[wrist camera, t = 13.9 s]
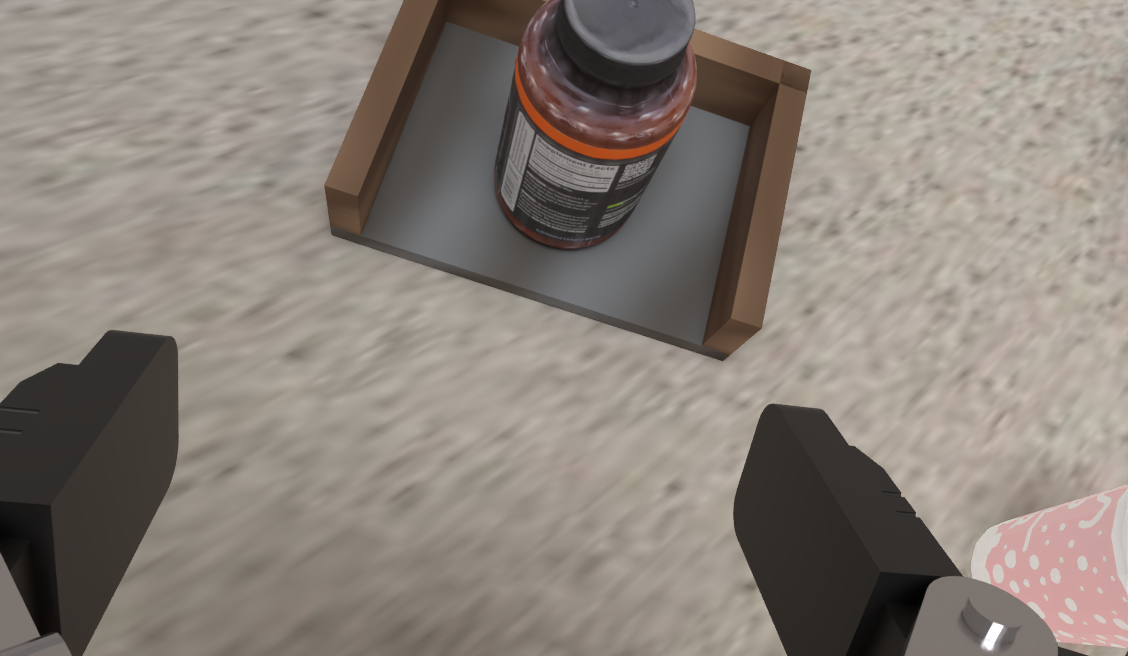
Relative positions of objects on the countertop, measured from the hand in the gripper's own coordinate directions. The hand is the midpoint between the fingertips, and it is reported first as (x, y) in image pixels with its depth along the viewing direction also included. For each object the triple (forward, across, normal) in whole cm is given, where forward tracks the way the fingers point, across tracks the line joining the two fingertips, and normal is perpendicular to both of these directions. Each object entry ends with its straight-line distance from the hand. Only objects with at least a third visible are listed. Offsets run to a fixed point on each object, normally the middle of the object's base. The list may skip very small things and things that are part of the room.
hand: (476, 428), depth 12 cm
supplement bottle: (+24, -4, +3) cm, 25 cm away
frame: (+26, -5, +3) cm, 26 cm away
